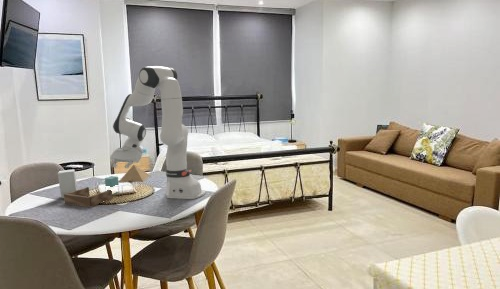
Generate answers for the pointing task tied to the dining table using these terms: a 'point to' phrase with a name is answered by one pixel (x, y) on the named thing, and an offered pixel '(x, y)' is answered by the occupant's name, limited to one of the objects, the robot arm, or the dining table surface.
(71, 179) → the skincare box
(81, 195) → the walnut crate
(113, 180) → the teal block
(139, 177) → the model pyramid
